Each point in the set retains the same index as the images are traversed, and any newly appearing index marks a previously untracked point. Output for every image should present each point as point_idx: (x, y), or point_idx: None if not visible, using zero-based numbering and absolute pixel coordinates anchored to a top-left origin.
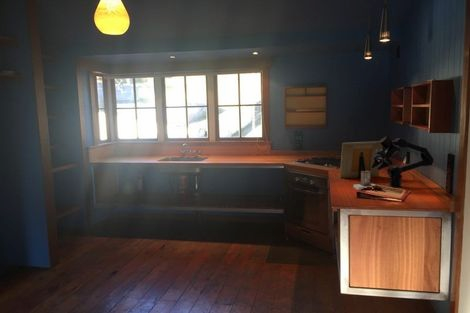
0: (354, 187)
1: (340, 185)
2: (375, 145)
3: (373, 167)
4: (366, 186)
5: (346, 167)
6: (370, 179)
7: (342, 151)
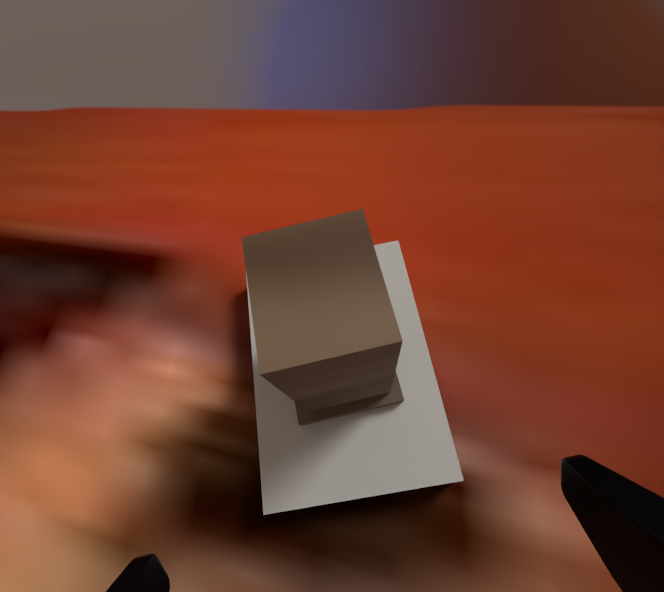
0: None
1: (494, 158)
2: None
3: (592, 539)
4: None
5: None
6: (294, 401)
7: None
